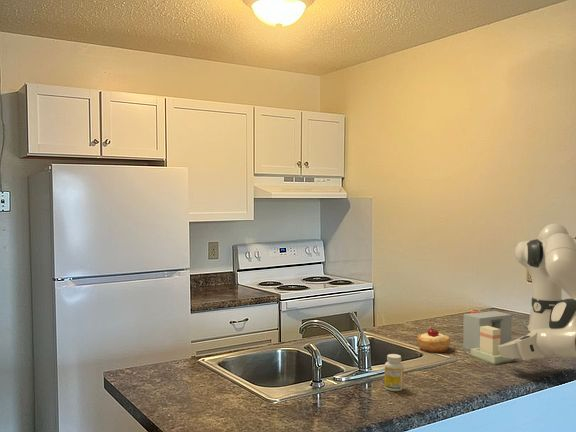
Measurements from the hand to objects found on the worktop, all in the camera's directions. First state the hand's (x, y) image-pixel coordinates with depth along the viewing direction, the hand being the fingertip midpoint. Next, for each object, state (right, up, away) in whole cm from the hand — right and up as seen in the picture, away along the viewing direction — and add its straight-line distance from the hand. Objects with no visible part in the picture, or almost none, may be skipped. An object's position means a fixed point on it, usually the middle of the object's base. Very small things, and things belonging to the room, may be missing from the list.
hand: (509, 343), depth 181 cm
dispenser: (0, -7, +22) cm, 23 cm away
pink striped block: (-3, -7, +9) cm, 11 cm away
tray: (-3, -7, +8) cm, 11 cm away
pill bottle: (+1, -7, +36) cm, 37 cm away
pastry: (-20, -7, +20) cm, 29 cm away
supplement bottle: (-44, -8, -23) cm, 50 cm away
